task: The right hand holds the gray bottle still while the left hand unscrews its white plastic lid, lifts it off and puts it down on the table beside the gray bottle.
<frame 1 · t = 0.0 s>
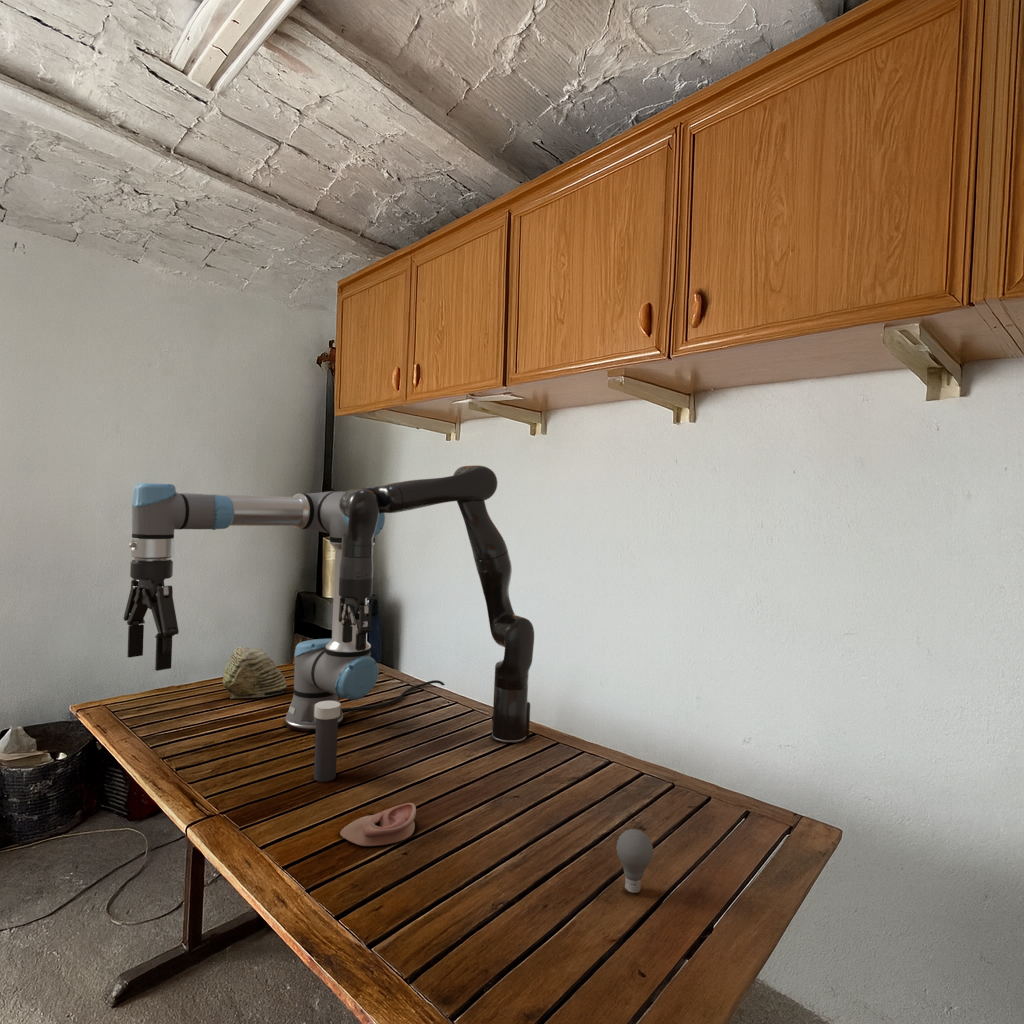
left hand: (148, 662, 129), 28 cm above the table, tool pointing down, fingers open, 13 cm apart
right hand: (353, 646, 146), 29 cm above the table, tool pointing down, fingers open, 8 cm apart
gray bottle: (324, 777, 143), on the table
anatomical model: (378, 832, 121), on the table
lid: (327, 706, 143), point 16 cm above the table, screwed on, not yet turned
light bulb: (632, 891, 106), on the table
fossil: (254, 694, 198), on the table
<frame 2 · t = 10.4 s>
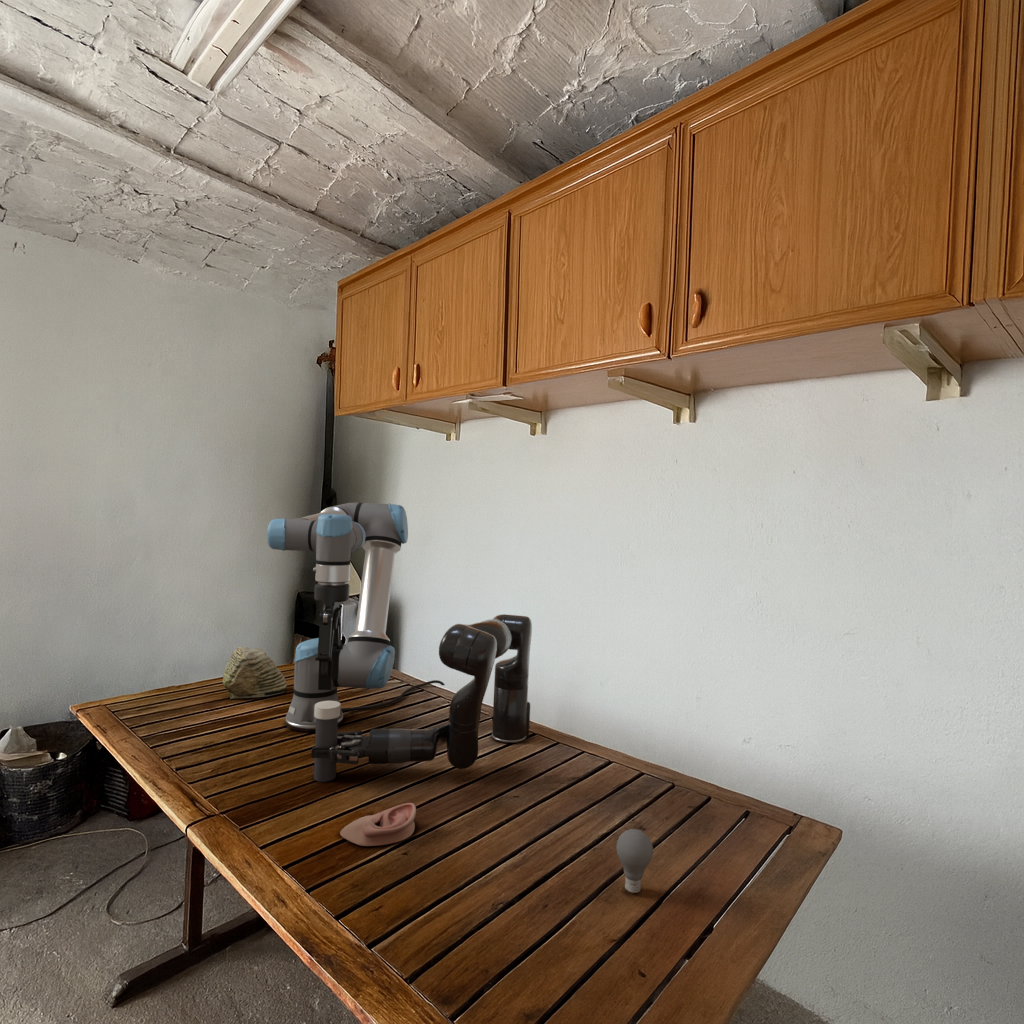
left hand: (328, 683, 143), 21 cm above the table, tool pointing down, fingers open, 8 cm apart
right hand: (313, 747, 142), 7 cm above the table, tool horizontal, fingers closed on gray bottle, 4 cm apart
gray bottle: (324, 777, 143), on the table, touching right hand
everything else where it was.
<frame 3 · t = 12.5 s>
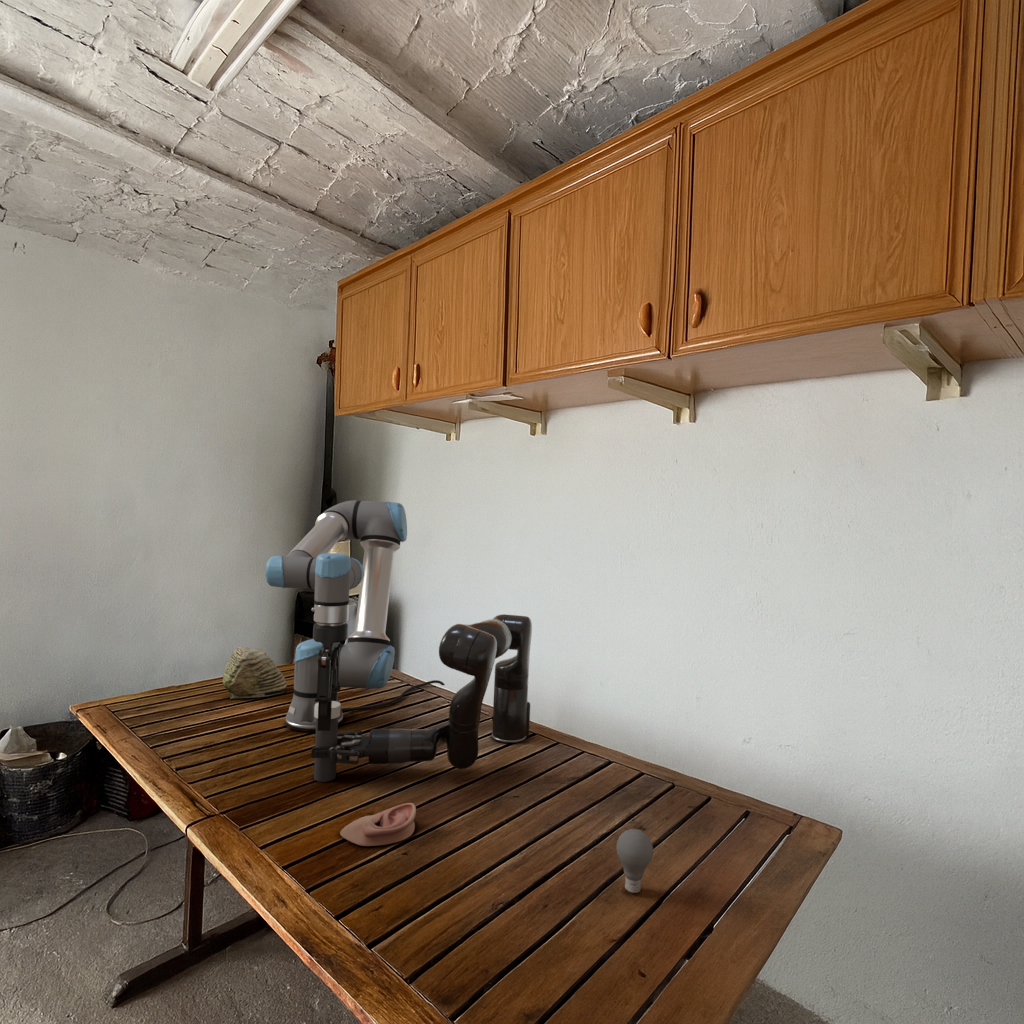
left hand: (326, 724, 143), 12 cm above the table, tool pointing down, fingers closed on lid, 6 cm apart
right hand: (313, 747, 142), 7 cm above the table, tool horizontal, fingers closed on gray bottle, 4 cm apart
gray bottle: (324, 777, 143), on the table, touching right hand
lid: (327, 706, 143), point 16 cm above the table, screwed on, not yet turned, touching left hand
everything else where it was.
when the left hand's fingers open (12 cm above the table, at t = 13.6 s): lid stays where it is, point 16 cm above the table.
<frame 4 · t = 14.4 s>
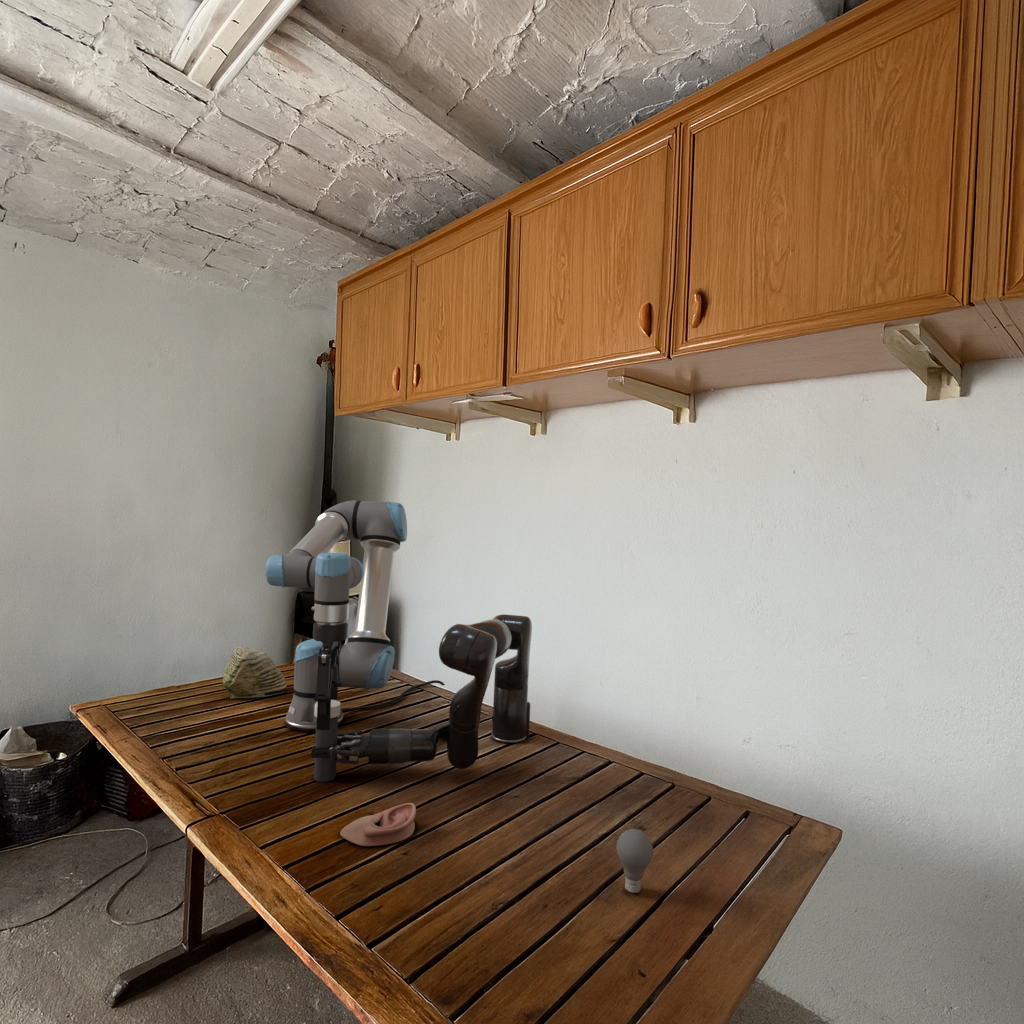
left hand: (327, 722, 143), 12 cm above the table, tool pointing down, fingers open, 8 cm apart
right hand: (314, 747, 142), 7 cm above the table, tool horizontal, fingers closed on gray bottle, 4 cm apart
gray bottle: (324, 777, 143), on the table, touching right hand
lid: (327, 705, 143), point 16 cm above the table, turned 67° so far, risen 0.2 cm, still on its thread
everything else where it was.
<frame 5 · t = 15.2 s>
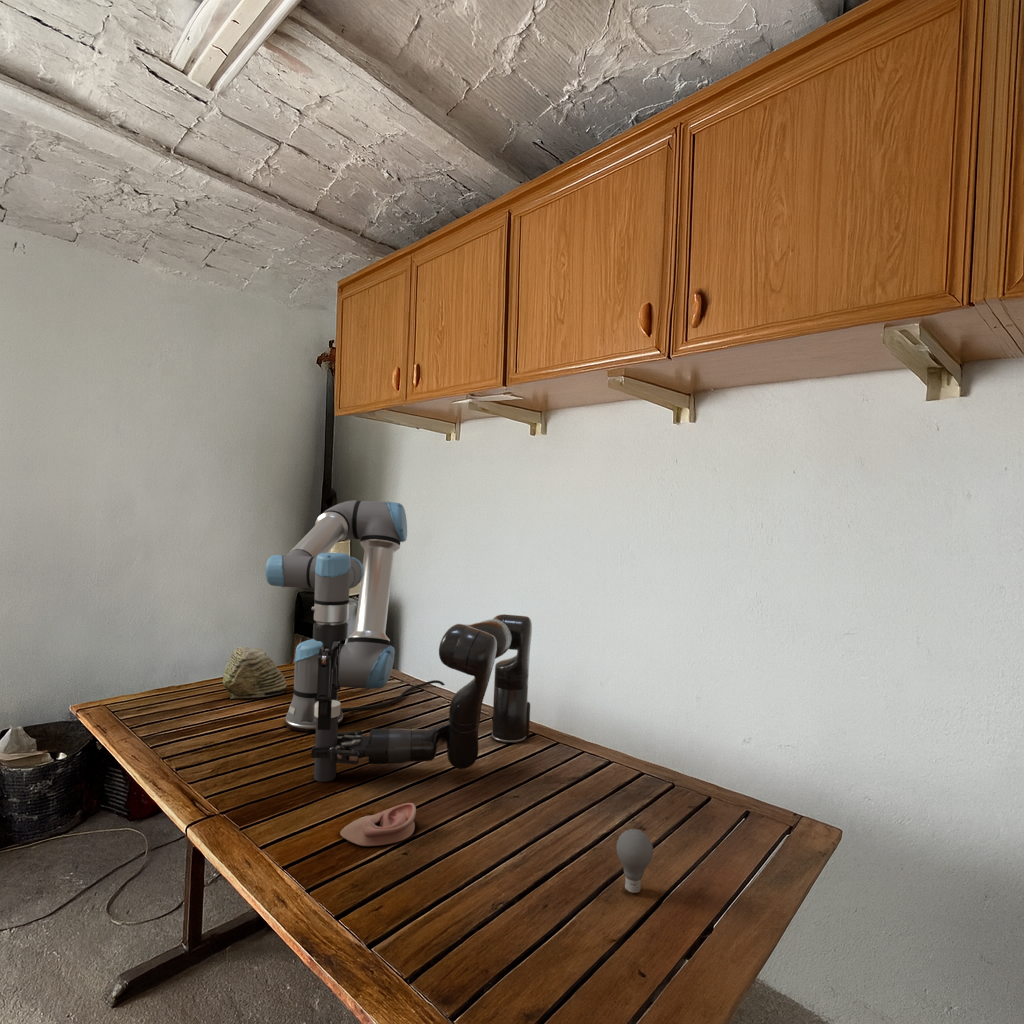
left hand: (326, 723, 143), 12 cm above the table, tool pointing down, fingers closed on lid, 6 cm apart
right hand: (313, 747, 142), 7 cm above the table, tool horizontal, fingers closed on gray bottle, 4 cm apart
gray bottle: (324, 777, 143), on the table, touching right hand
lid: (327, 705, 143), point 16 cm above the table, turned 67° so far, risen 0.2 cm, still on its thread, touching left hand
everything else where it was.
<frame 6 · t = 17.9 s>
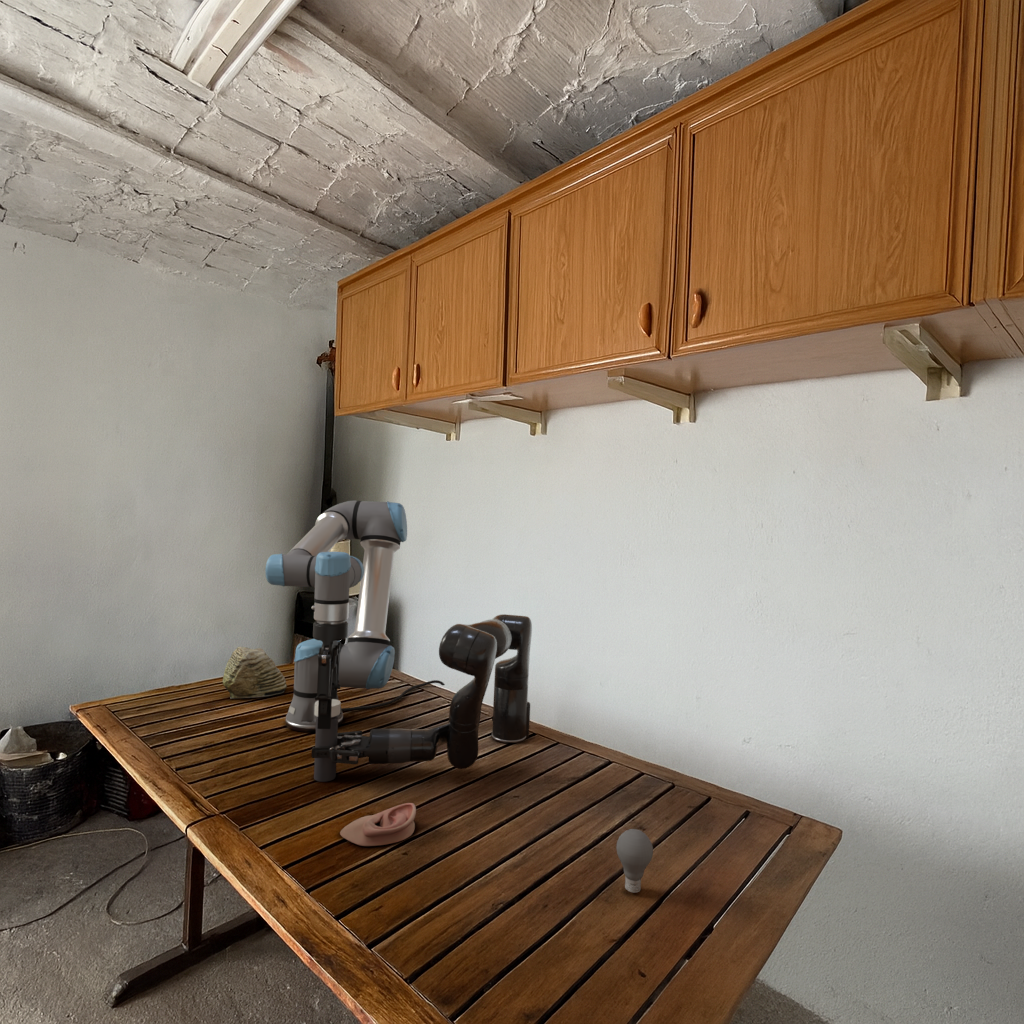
left hand: (327, 722, 143), 12 cm above the table, tool pointing down, fingers closed on lid, 6 cm apart
right hand: (313, 747, 142), 7 cm above the table, tool horizontal, fingers closed on gray bottle, 4 cm apart
gray bottle: (324, 777, 143), on the table, touching right hand
lid: (327, 704, 143), point 17 cm above the table, turned 133° so far, risen 0.4 cm, still on its thread, touching left hand
everything else where it was.
when the left hand's fingers open (0 cm above the table, at t = 24.7 s): lid drops 2 cm, point 2 cm above the table.
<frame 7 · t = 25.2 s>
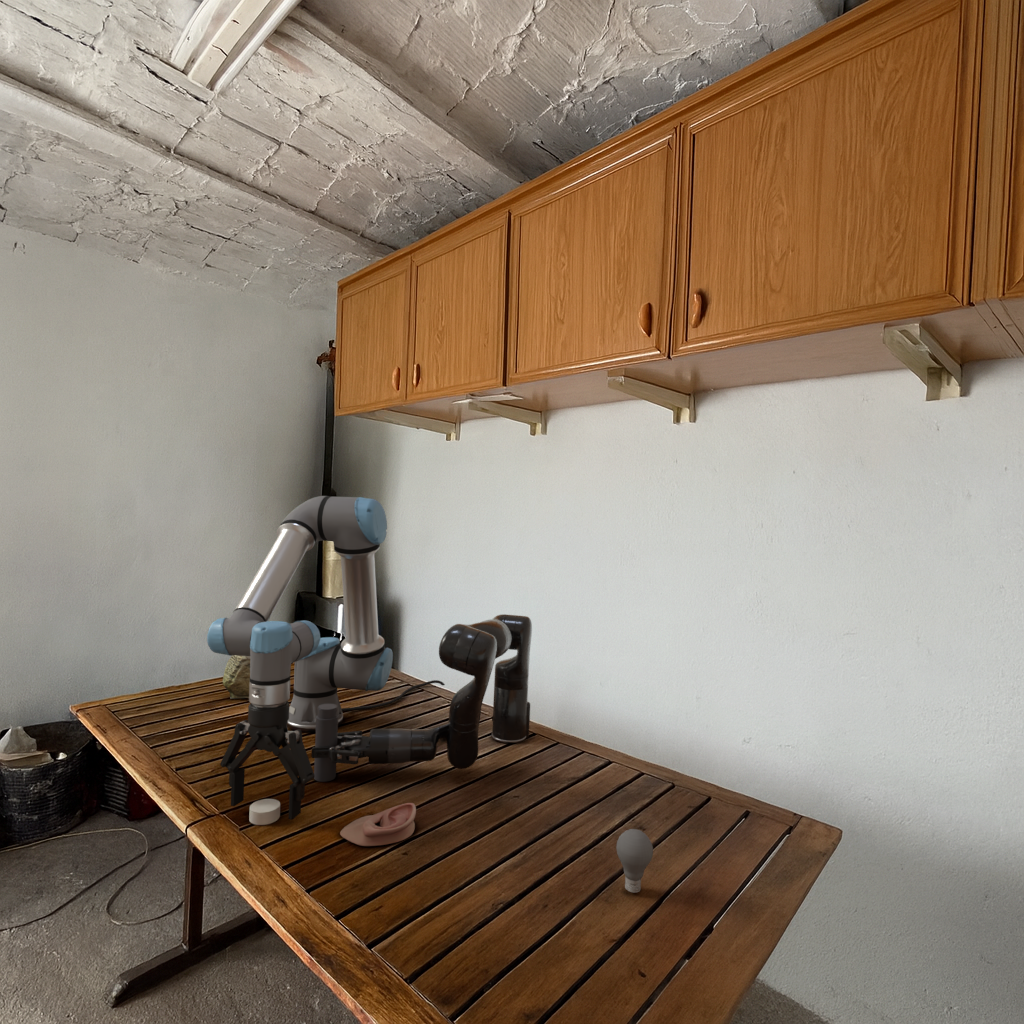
left hand: (265, 809, 124), 2 cm above the table, tool pointing down, fingers open, 13 cm apart
right hand: (313, 747, 142), 7 cm above the table, tool horizontal, fingers closed on gray bottle, 4 cm apart
gray bottle: (324, 777, 143), on the table, touching right hand
lid: (265, 807, 124), point 2 cm above the table, off its thread
everything else where it was.
when the right hand's fingers open (7 cm above the table, at t = 25.9 s): gray bottle stays where it is, on the table.
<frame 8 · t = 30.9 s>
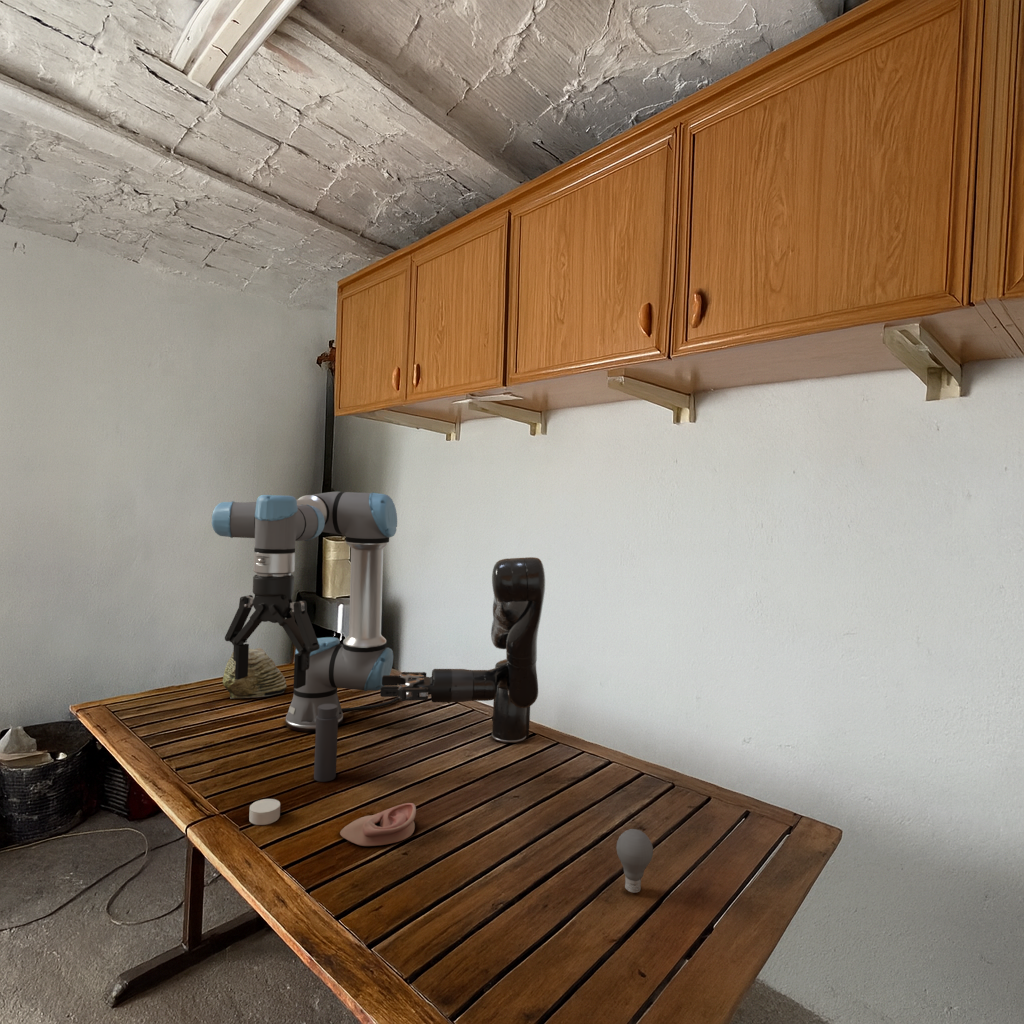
left hand: (269, 682, 124), 27 cm above the table, tool pointing down, fingers open, 13 cm apart
right hand: (381, 685, 144), 21 cm above the table, tool horizontal, fingers open, 8 cm apart
gray bottle: (324, 777, 143), on the table
everything else where it was.
at the end: lid came off its thread; lid point 2.1 cm above the table; the left hand is holding nothing; the right hand is holding nothing; gray bottle tilted 0°; gray bottle moved 0.0 cm from its start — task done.
